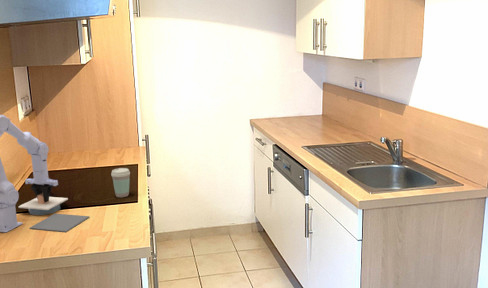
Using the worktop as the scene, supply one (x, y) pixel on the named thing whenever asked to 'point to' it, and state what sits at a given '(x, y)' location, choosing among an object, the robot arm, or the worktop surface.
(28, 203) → the lid
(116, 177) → the coffee cup
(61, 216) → the mat
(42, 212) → the dish
